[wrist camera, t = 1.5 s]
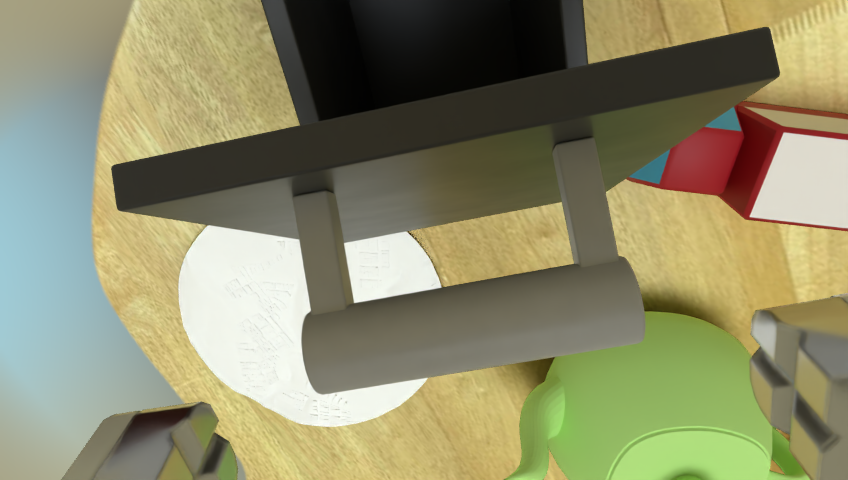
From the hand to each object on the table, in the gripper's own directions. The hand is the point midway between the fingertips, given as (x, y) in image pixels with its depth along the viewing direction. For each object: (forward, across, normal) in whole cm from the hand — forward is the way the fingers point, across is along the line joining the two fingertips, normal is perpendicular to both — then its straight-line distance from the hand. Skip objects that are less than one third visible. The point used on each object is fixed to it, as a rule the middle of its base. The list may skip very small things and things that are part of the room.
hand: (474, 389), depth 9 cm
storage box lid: (+8, 0, -1) cm, 8 cm away
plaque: (+30, +13, +16) cm, 37 cm away
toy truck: (+30, -18, +9) cm, 36 cm away
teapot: (+30, -9, +26) cm, 41 cm away
